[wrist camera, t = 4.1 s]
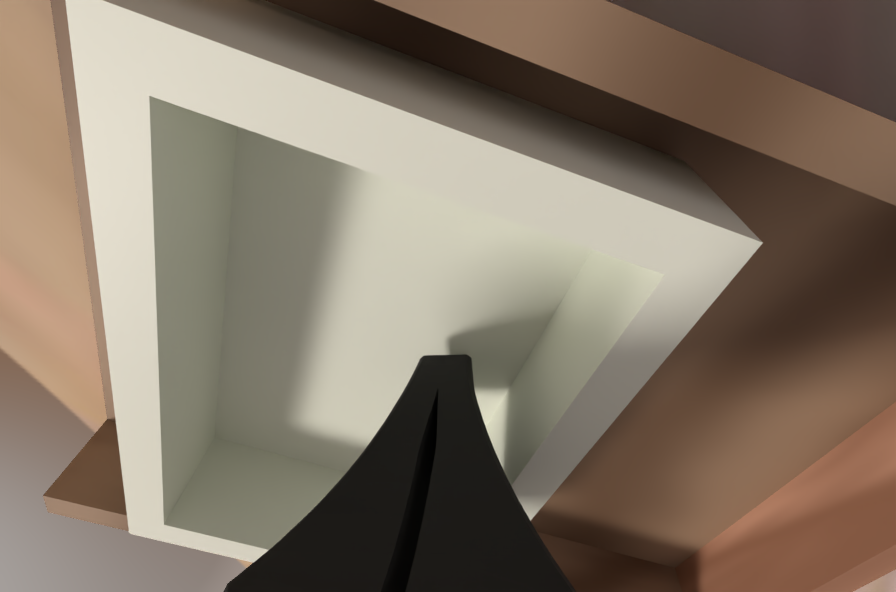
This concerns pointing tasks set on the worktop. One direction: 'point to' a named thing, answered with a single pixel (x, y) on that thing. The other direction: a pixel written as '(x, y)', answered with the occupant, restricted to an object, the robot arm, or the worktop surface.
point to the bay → (712, 337)
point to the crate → (358, 259)
